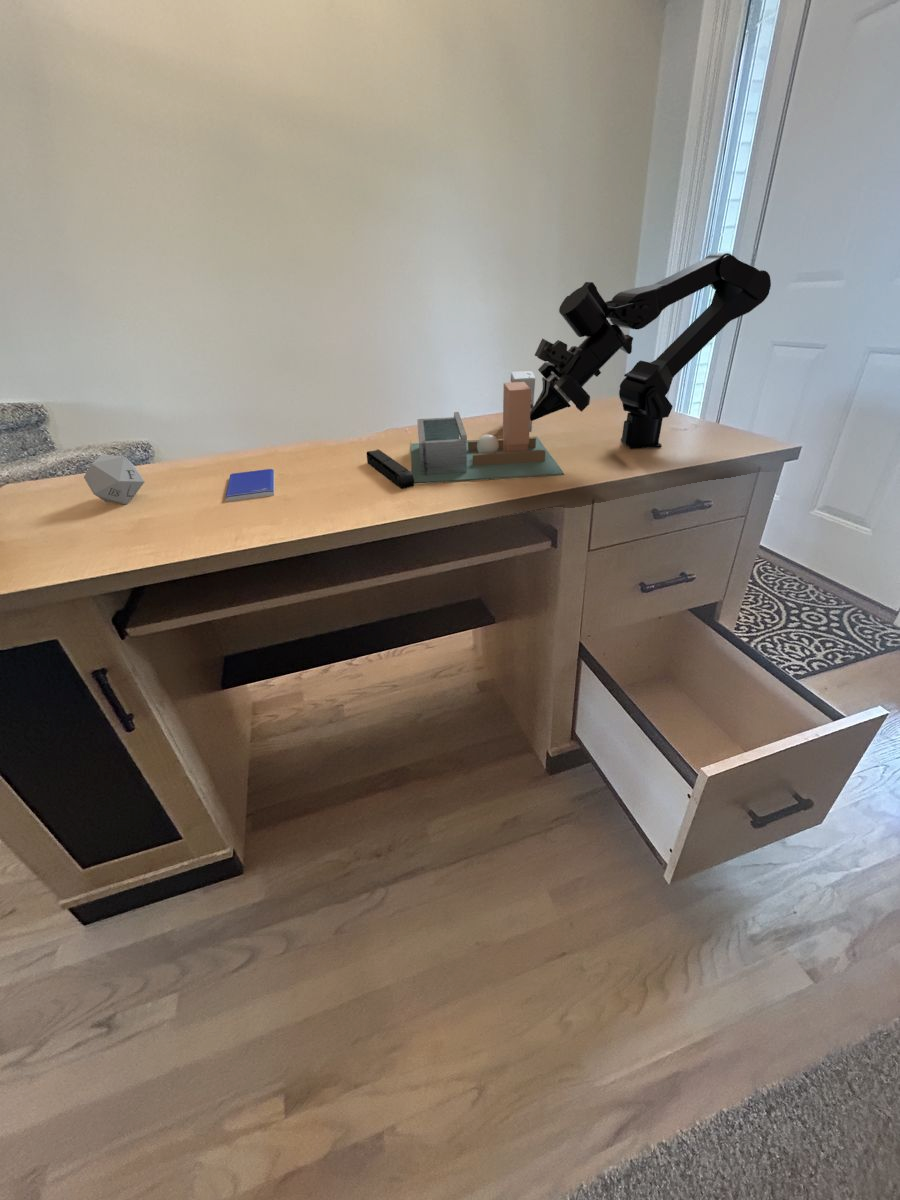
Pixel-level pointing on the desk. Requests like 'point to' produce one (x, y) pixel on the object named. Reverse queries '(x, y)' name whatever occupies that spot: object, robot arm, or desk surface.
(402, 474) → the portable electronic device stand
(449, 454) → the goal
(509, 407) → the salmon orange block
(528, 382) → the ink box
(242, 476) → the hard drive
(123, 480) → the die
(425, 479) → the plate
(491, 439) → the ball
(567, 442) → the desk surface
